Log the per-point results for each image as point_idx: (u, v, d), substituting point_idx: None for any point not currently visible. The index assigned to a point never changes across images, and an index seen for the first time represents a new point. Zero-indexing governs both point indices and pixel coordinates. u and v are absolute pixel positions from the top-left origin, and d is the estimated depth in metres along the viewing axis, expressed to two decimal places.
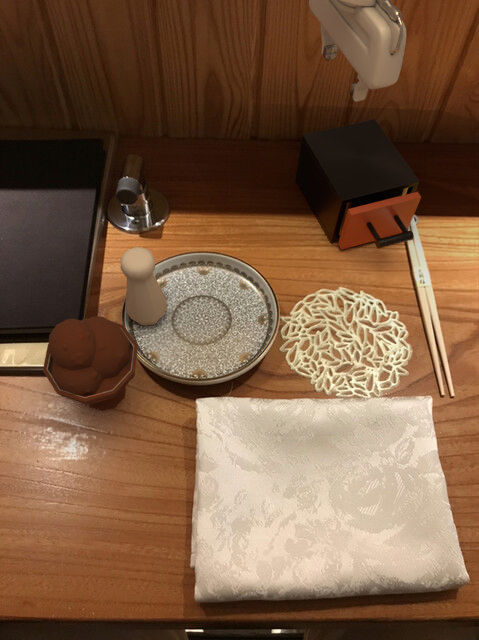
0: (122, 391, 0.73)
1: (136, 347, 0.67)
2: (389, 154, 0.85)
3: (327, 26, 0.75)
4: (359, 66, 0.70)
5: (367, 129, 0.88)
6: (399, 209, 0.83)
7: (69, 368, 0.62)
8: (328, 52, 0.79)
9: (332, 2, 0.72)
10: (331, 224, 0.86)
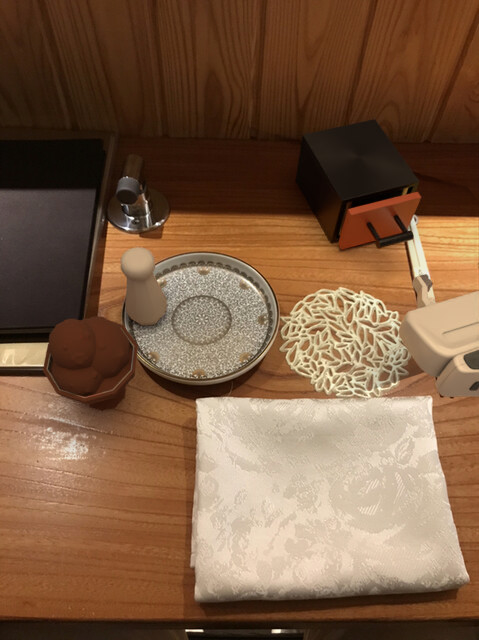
0: (122, 391, 0.73)
1: (136, 347, 0.67)
2: (389, 154, 0.85)
3: None
4: None
5: (367, 129, 0.88)
6: (399, 209, 0.83)
7: (69, 368, 0.62)
8: None
9: None
10: (331, 224, 0.86)
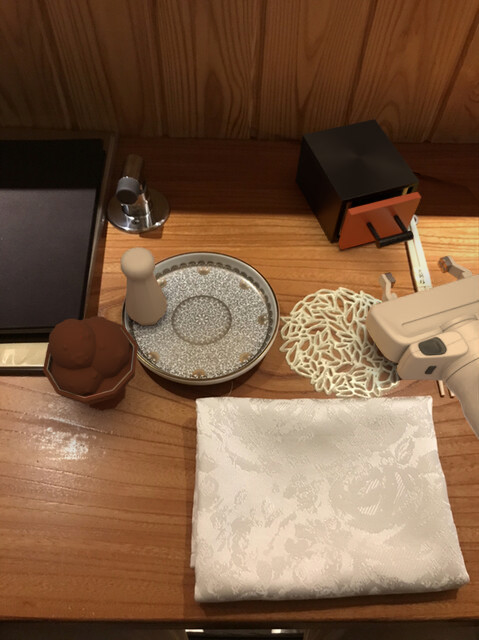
0: (122, 391, 0.73)
1: (136, 347, 0.67)
2: (389, 154, 0.85)
3: None
4: None
5: (367, 129, 0.88)
6: (399, 209, 0.83)
7: (69, 368, 0.62)
8: None
9: None
10: (331, 224, 0.86)
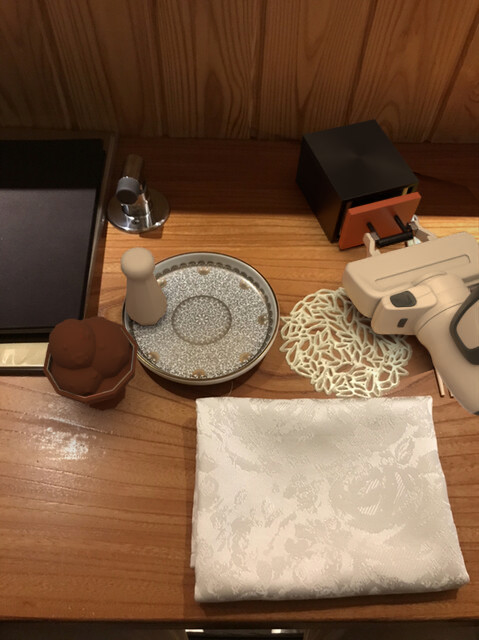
0: (122, 391, 0.73)
1: (136, 347, 0.67)
2: (389, 154, 0.85)
3: None
4: None
5: (367, 129, 0.88)
6: (399, 209, 0.83)
7: (69, 368, 0.62)
8: None
9: None
10: (331, 224, 0.86)
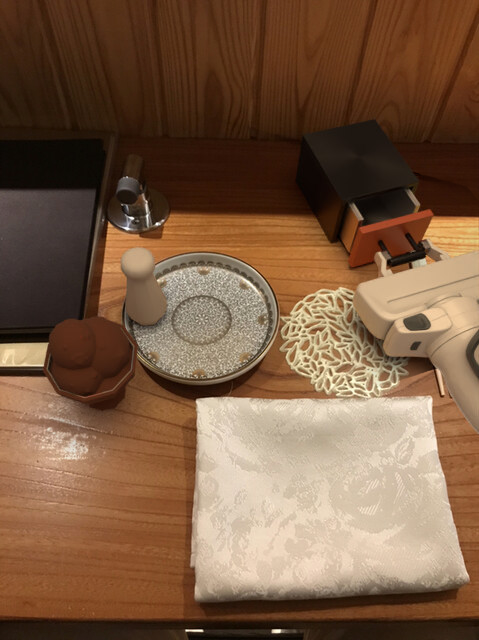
0: (122, 391, 0.73)
1: (136, 347, 0.67)
2: (389, 154, 0.85)
3: None
4: None
5: (367, 129, 0.88)
6: (411, 226, 0.81)
7: (69, 368, 0.62)
8: None
9: None
10: (331, 224, 0.86)
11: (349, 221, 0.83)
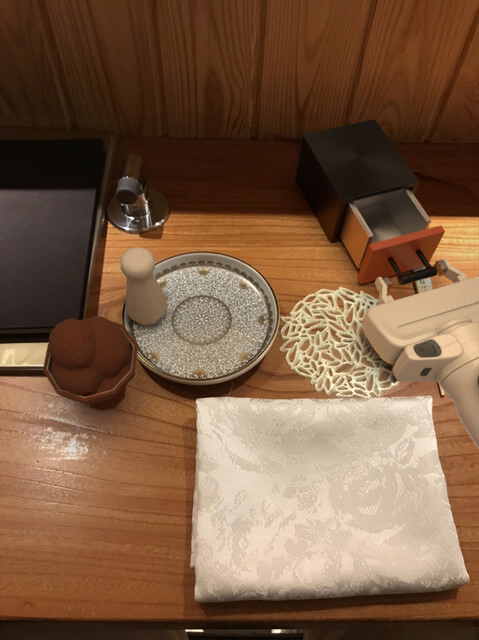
0: (122, 391, 0.73)
1: (136, 347, 0.67)
2: (389, 154, 0.85)
3: None
4: None
5: (367, 129, 0.88)
6: (422, 243, 0.79)
7: (69, 368, 0.62)
8: None
9: None
10: (331, 224, 0.86)
11: (359, 237, 0.81)
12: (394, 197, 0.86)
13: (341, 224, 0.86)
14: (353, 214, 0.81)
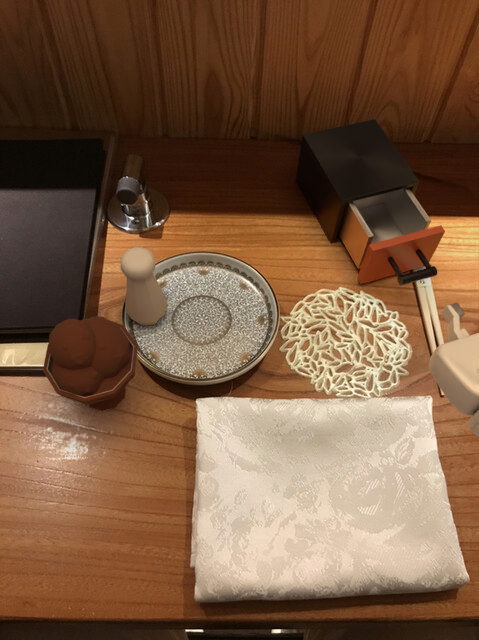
0: (122, 391, 0.73)
1: (136, 347, 0.67)
2: (389, 154, 0.85)
3: None
4: None
5: (367, 129, 0.88)
6: (422, 243, 0.79)
7: (69, 368, 0.62)
8: None
9: None
10: (331, 224, 0.86)
11: (359, 237, 0.81)
12: (394, 197, 0.86)
13: (341, 224, 0.86)
14: (353, 214, 0.81)
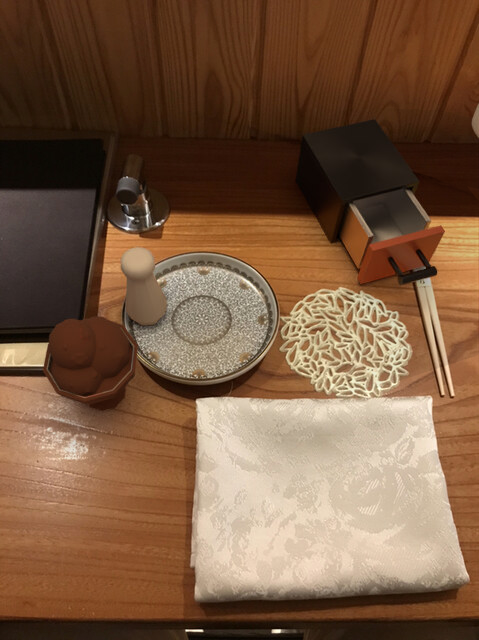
0: (122, 391, 0.73)
1: (136, 347, 0.67)
2: (389, 154, 0.85)
3: None
4: None
5: (367, 129, 0.88)
6: (422, 243, 0.79)
7: (69, 368, 0.62)
8: None
9: None
10: (331, 224, 0.86)
11: (359, 237, 0.81)
12: (394, 197, 0.86)
13: (341, 224, 0.86)
14: (353, 214, 0.81)
